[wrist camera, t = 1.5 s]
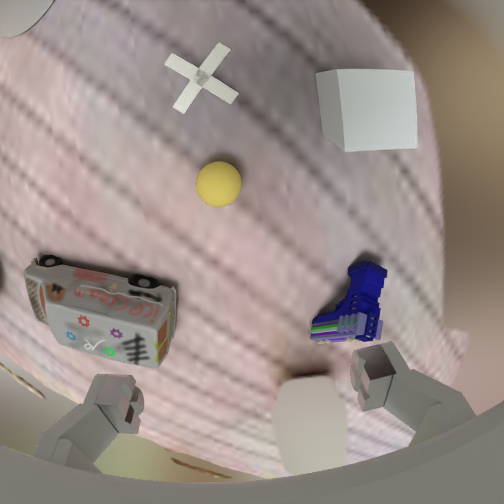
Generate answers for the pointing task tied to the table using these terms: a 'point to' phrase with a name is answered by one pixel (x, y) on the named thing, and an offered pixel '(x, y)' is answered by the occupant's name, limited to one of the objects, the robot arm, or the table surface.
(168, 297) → the toy car
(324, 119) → the grey block
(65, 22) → the table surface
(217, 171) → the ball
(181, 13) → the table surface
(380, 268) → the toy gun
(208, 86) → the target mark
